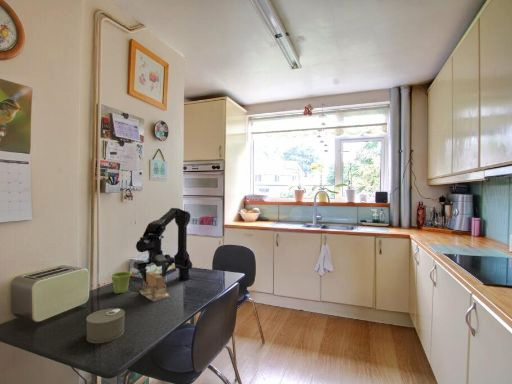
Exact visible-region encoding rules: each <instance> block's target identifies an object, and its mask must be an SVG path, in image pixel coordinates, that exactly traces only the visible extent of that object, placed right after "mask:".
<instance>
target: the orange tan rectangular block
mask: <svg viewBox="0 0 512 384" xmlns="http://www.w3.org/2000/svg"><path fill="white" fill-rule="evenodd" d="M146 282H147V284H148V285H150V286H155V287H156V288H157V290H159V289H163V288H164V284H165V277H163V276H162V274H158V273H157V272H154V271H152V270H151V271H146Z"/></svg>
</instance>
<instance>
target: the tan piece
mask: <svg viewBox="0 0 512 384" xmlns="http://www.w3.org/2000/svg"><path fill="white" fill-rule="evenodd" d="M139 294H141V295H142V296H144V297H145V298H147V299H149V300H151V301H152V302H157V301H160V300H163V299H168V298H170V294H169V293H167V285H166V284H165V283H164V288H163V289H159V290H157V288H156V287H155V286H150V285H148V284H147V282H144V280H143V281H142V289H141V290H139Z"/></svg>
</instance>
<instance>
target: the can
mask: <svg viewBox="0 0 512 384" xmlns="http://www.w3.org/2000/svg"><path fill="white" fill-rule="evenodd" d="M125 315H126V310H124V309H123V308H119V307H109V308H103V309H99V310H96V311H94V312H91V313H90V314H89V315H87V316H86V319H85V321H86V341H87V342H89V343H91V344H102V343H107V342H111V341H115V340H116V339H118V338H120V337H121V336H122V335H123V334H124V332H125Z"/></svg>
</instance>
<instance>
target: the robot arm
mask: <svg viewBox="0 0 512 384" xmlns="http://www.w3.org/2000/svg"><path fill="white" fill-rule="evenodd" d="M173 220H174V222H175V224H176V226H177V252H176V254H174V256H173V257H172V256H171V255H170V254H169V253H168V254H163V250H162V239H164V238H165V237H164V235H163V233H164V232H165V231H166V228H167V226H168V224H170V223H171V222H172V221H173ZM190 221H191V213H189V211H185V210H183V209H181V208H179V207H171V208H170V209H169V210H168V211H167V212H166V213H164V214H163V215H162V216H161V217H160V218H159V219H156V220H153V221H151V222H149V223H148V224H147V226H146V228H145V230H144V232H143V234H142V236H141V237H139V240H138V241H137V242H136V244H135V249H136V250H137V252H139V253H145V252H147V253H148V258H147V261H144V260H139V261H138V260H137V261H134V263H133V265H132V266H133V269H135V270H137V271H139V273H140V276H141V277H142V279H143V281H144V282H146V272H148V271H147V270H148V268H147V266H148V267H149V266H153V265H155V266H156V268H157V267H158V268H160V267H161V276H163V277H164V278H165V277H166V275H167V271H168V269H169V268H170V267H171V266H173V264H174V268H175V269H178V274H177V275H178V276H176V277H175V279H177V280H179V281H181V282H182V281H186V280H190V279H192V277H190V270H192V268H193V263H192V261H191V260H190V254H189V253H188V251H187V247H188V246H187V241H188V240H187V239H188V238H187V237H188V236H187V235H188V232H187V231H188V229H187V228H188V225H189V223H190Z"/></svg>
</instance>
